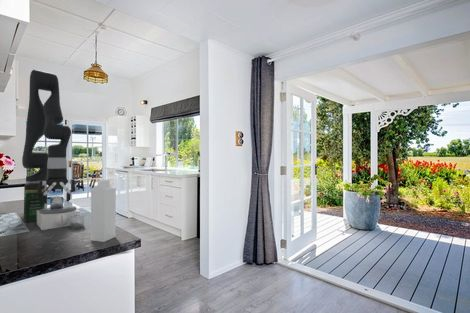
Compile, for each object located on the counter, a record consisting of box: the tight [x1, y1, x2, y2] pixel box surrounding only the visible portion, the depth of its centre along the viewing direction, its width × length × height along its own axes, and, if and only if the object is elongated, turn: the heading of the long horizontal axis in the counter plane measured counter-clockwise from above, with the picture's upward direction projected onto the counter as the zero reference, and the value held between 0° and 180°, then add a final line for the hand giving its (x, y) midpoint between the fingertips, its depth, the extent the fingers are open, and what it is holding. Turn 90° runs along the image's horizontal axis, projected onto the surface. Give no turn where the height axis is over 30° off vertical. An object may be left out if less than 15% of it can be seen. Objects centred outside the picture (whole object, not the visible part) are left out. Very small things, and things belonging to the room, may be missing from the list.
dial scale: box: [36, 205, 81, 231], centre depth 118 cm, size 14×14×7 cm
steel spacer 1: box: [49, 195, 64, 209], centre depth 120 cm, size 5×5×5 cm
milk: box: [90, 179, 117, 243], centre depth 97 cm, size 6×6×22 cm
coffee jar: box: [23, 181, 45, 223], centre depth 124 cm, size 10×8×19 cm
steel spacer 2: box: [70, 213, 85, 230], centre depth 113 cm, size 5×5×5 cm
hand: (56, 202), depth 120 cm, fingers open, 8 cm apart
